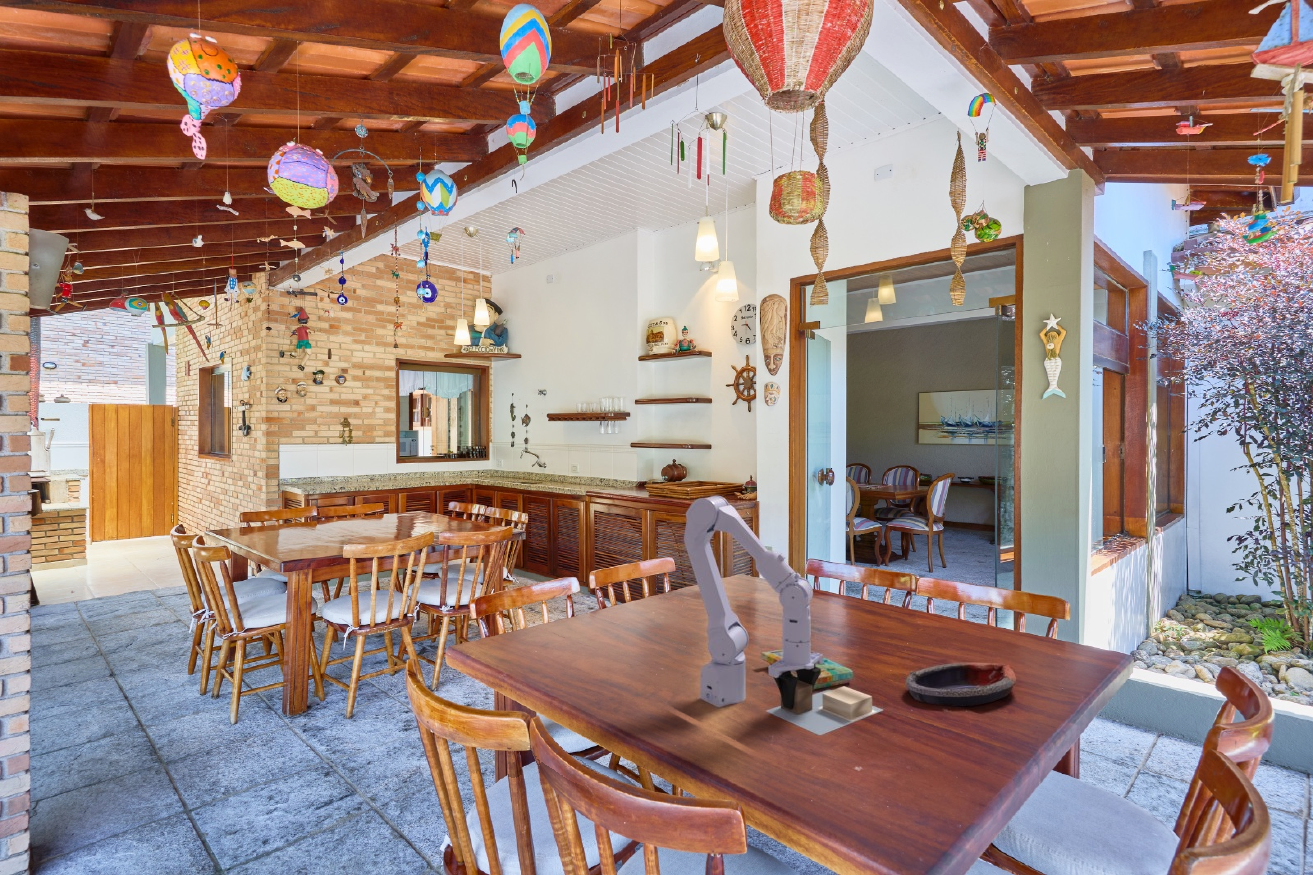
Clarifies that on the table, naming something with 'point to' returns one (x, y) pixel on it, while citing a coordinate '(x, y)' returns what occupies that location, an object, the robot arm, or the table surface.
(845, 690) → the maple block
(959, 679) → the dish
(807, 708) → the walnut block
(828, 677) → the puzzle game
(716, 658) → the robot arm
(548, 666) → the table surface
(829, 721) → the board
